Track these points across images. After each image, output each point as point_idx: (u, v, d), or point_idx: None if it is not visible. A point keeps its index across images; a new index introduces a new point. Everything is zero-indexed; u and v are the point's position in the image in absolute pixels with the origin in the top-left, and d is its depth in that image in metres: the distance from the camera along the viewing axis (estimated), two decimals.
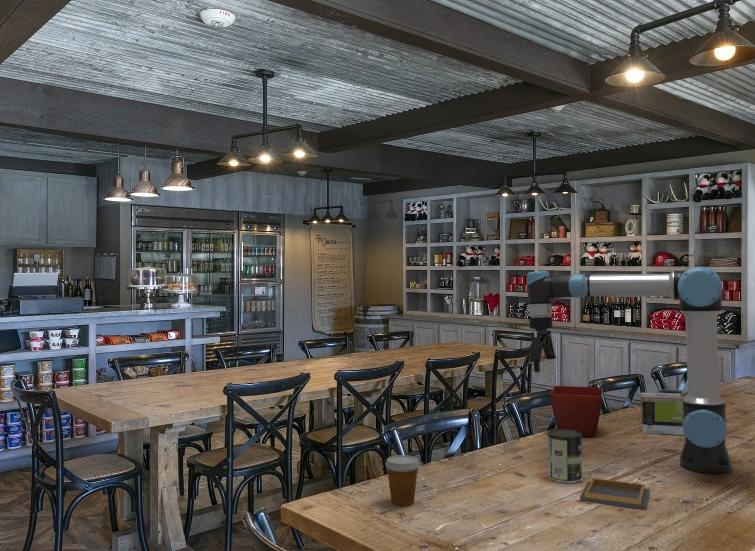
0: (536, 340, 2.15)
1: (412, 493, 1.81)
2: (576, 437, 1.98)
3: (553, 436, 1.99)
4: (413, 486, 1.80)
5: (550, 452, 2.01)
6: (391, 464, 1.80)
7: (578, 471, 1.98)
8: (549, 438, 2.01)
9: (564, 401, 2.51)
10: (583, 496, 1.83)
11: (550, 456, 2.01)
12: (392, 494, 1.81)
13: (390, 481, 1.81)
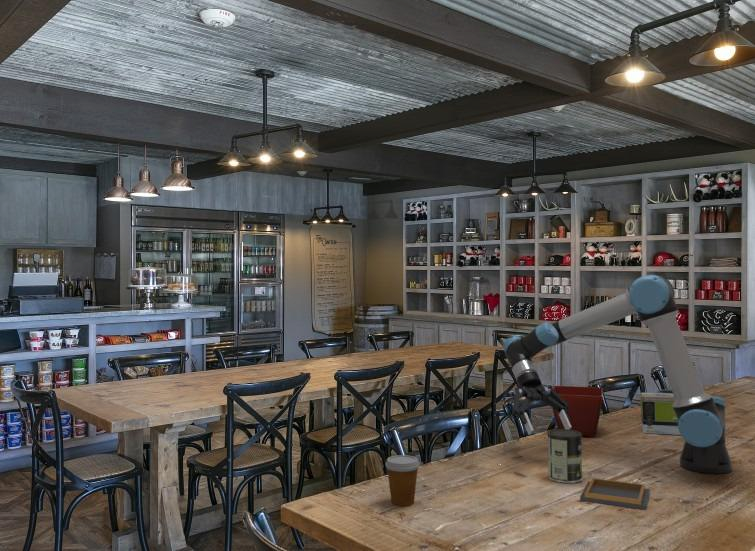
0: (515, 396, 2.16)
1: (412, 493, 1.81)
2: (576, 437, 1.98)
3: (553, 436, 1.99)
4: (413, 486, 1.80)
5: (550, 452, 2.01)
6: (391, 464, 1.80)
7: (578, 471, 1.98)
8: (549, 438, 2.01)
9: None
10: (583, 496, 1.83)
11: (550, 456, 2.01)
12: (392, 494, 1.81)
13: (390, 481, 1.81)
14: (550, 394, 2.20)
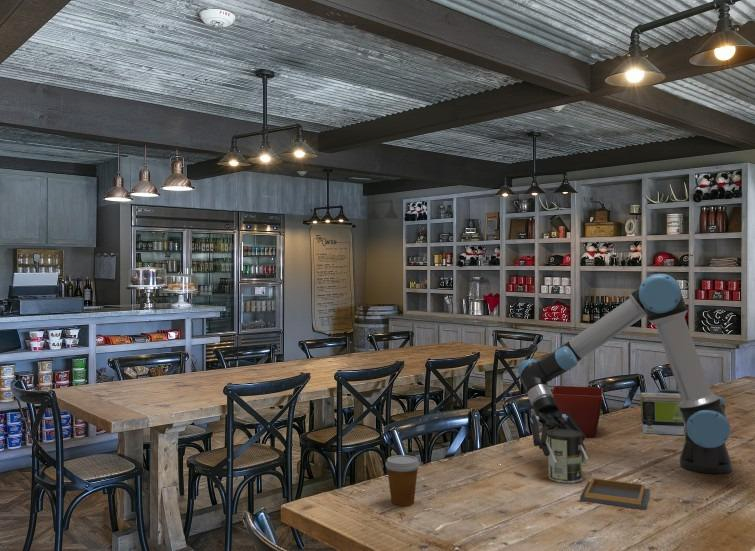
0: (533, 424, 2.07)
1: (412, 493, 1.81)
2: (576, 437, 1.98)
3: (553, 436, 1.99)
4: (413, 486, 1.80)
5: None
6: (391, 464, 1.80)
7: (578, 471, 1.98)
8: (549, 438, 2.01)
9: (564, 401, 2.51)
10: (583, 496, 1.83)
11: None
12: (392, 494, 1.81)
13: (390, 481, 1.81)
14: (567, 421, 2.11)
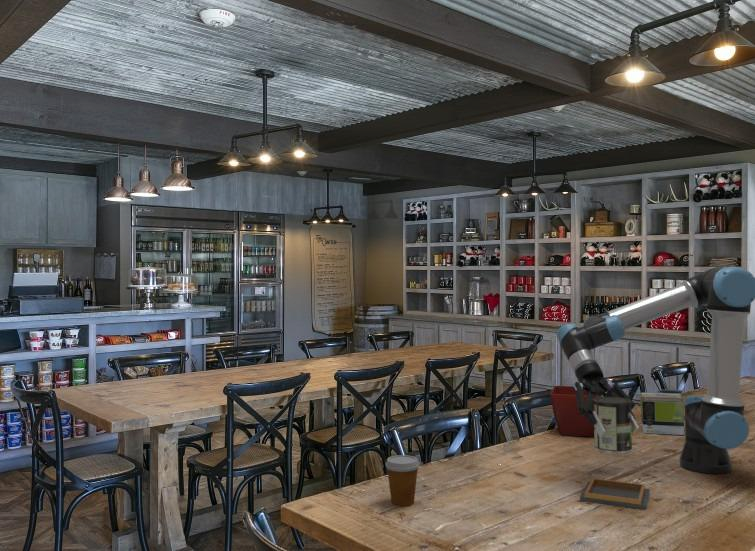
0: (577, 392, 1.90)
1: (412, 493, 1.81)
2: (626, 404, 1.81)
3: (600, 403, 1.83)
4: (413, 486, 1.80)
5: None
6: (391, 464, 1.80)
7: (628, 441, 1.82)
8: (595, 405, 1.85)
9: (564, 401, 2.51)
10: (583, 496, 1.83)
11: None
12: (392, 494, 1.81)
13: (390, 481, 1.81)
14: (613, 389, 1.94)
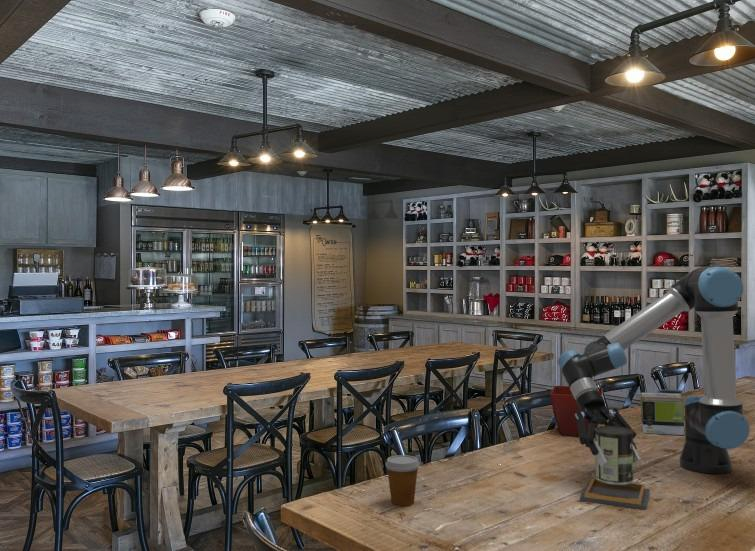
0: (579, 421, 1.90)
1: (412, 493, 1.81)
2: (628, 435, 1.81)
3: (602, 433, 1.82)
4: (413, 486, 1.80)
5: None
6: (391, 464, 1.80)
7: (630, 472, 1.81)
8: (597, 436, 1.84)
9: (564, 401, 2.51)
10: (583, 496, 1.83)
11: None
12: (392, 494, 1.81)
13: (390, 481, 1.81)
14: (615, 418, 1.94)
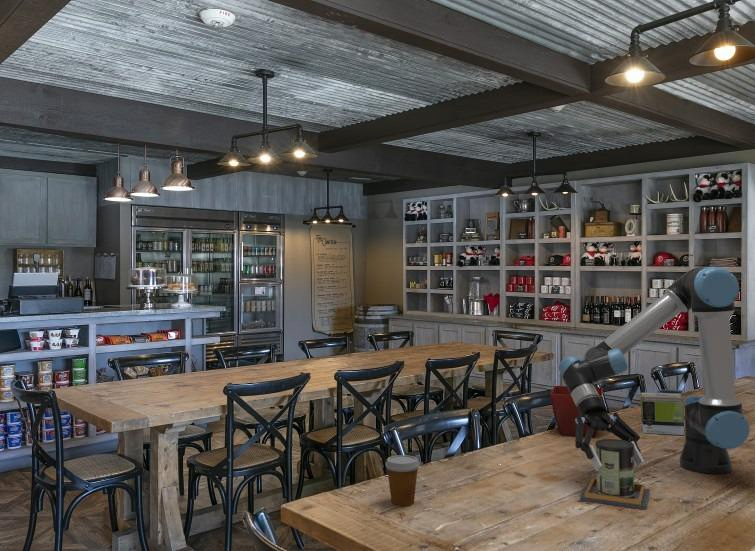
0: (578, 425, 1.90)
1: (412, 493, 1.81)
2: (629, 448, 1.81)
3: (603, 447, 1.82)
4: (413, 486, 1.80)
5: None
6: (391, 464, 1.80)
7: (631, 485, 1.81)
8: (598, 449, 1.84)
9: (564, 401, 2.51)
10: (583, 496, 1.83)
11: (599, 469, 1.84)
12: (392, 494, 1.81)
13: (390, 481, 1.81)
14: (616, 423, 1.94)
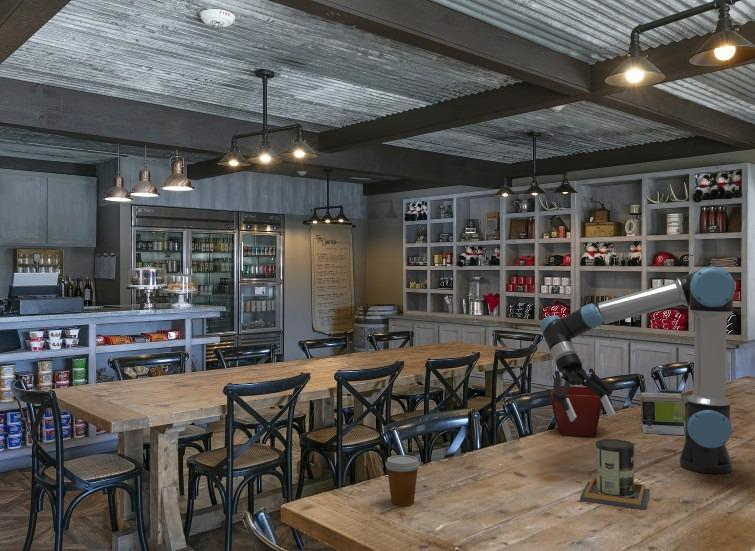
0: (555, 379, 2.04)
1: (412, 493, 1.81)
2: (629, 448, 1.81)
3: (603, 447, 1.82)
4: (413, 486, 1.80)
5: (599, 464, 1.84)
6: (391, 464, 1.80)
7: (631, 485, 1.81)
8: (598, 449, 1.84)
9: None
10: (583, 496, 1.83)
11: (599, 469, 1.84)
12: (392, 494, 1.81)
13: (390, 481, 1.81)
14: (591, 378, 2.08)
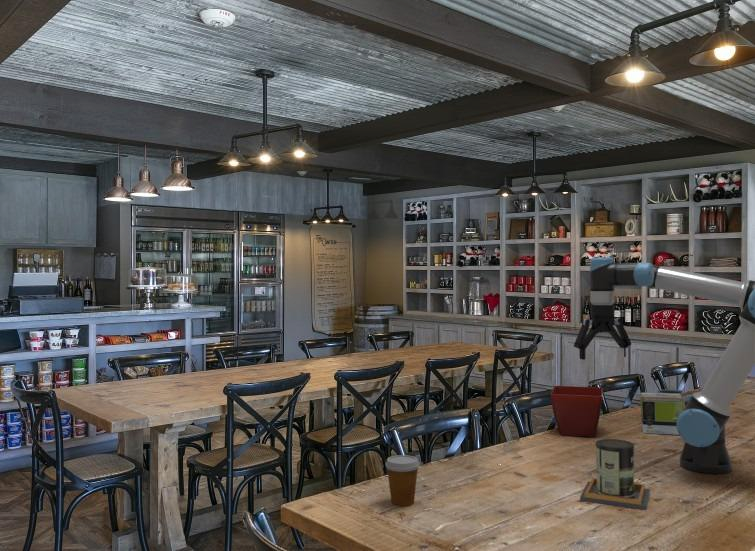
0: (583, 328, 2.14)
1: (412, 493, 1.81)
2: (629, 448, 1.81)
3: (603, 447, 1.82)
4: (413, 486, 1.80)
5: (599, 464, 1.84)
6: (391, 464, 1.80)
7: (631, 485, 1.81)
8: (598, 449, 1.84)
9: (564, 401, 2.51)
10: (583, 496, 1.83)
11: (599, 469, 1.84)
12: (392, 494, 1.81)
13: (390, 481, 1.81)
14: (617, 326, 2.18)
